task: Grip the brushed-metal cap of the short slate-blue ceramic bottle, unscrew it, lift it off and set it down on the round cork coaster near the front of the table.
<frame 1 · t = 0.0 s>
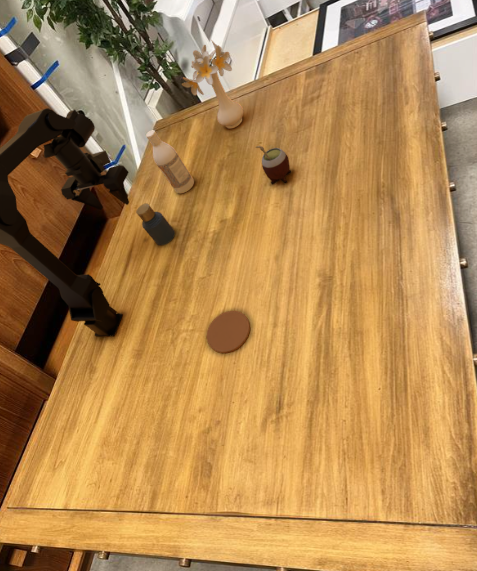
hand: (114, 206, 104), 15 cm above the table, tool pointing down, fingers open, 9 cm apart
cap: (143, 209, 104), point 11 cm above the table, screwed on, not yet turned
bath foam: (185, 186, 124), on the table
bottle: (165, 236, 113), on the table
coaster: (228, 331, 84), on the table
mate gourd: (281, 179, 107), on the table
flower vase: (234, 124, 134), on the table
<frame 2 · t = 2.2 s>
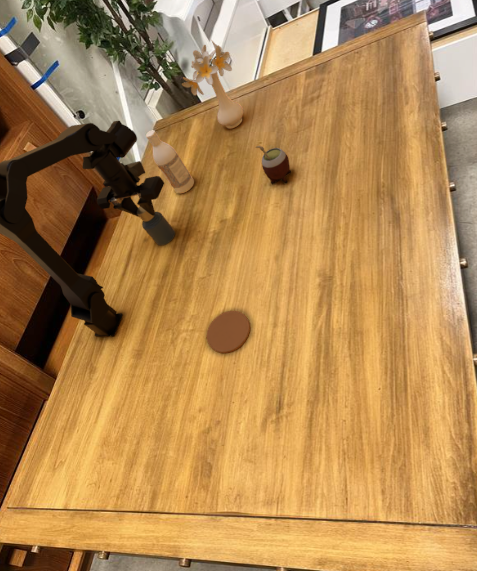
hand: (148, 215, 106), 9 cm above the table, tool pointing down, fingers closed on cap, 4 cm apart
cap: (143, 209, 104), point 11 cm above the table, screwed on, not yet turned, touching gripper
everything else where it was.
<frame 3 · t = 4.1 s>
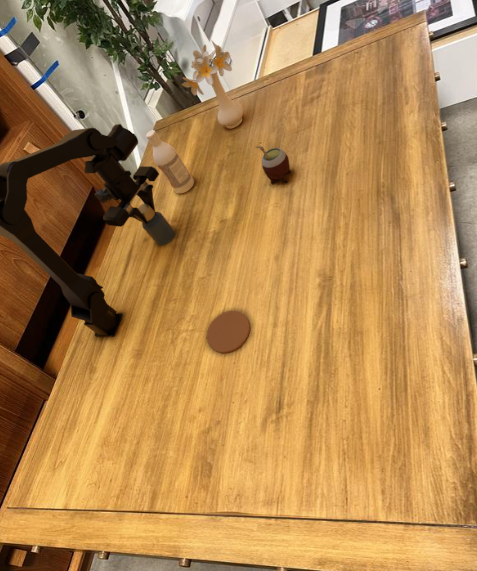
hand: (149, 217, 107), 8 cm above the table, tool pointing down, fingers closed on cap, 4 cm apart
cap: (143, 209, 104), point 11 cm above the table, turned 75° so far, risen 0.1 cm, still on its thread, touching gripper
bottle: (165, 236, 113), on the table, touching gripper
everything else where it was.
when the fingers open (3 cm above the table, at t = 28.3 s): cap drops 2 cm, resting on coaster.
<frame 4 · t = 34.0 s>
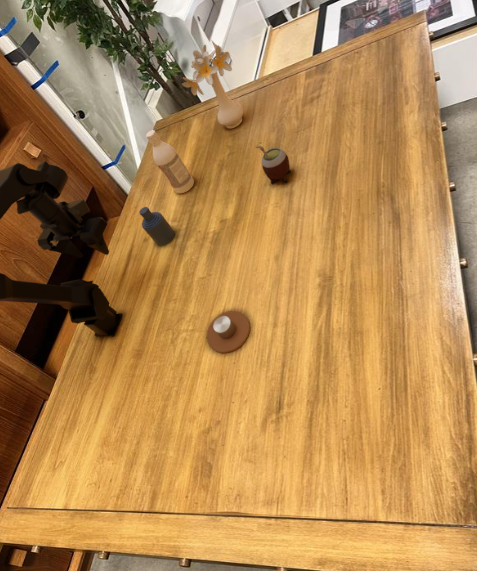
hand: (94, 255, 100), 12 cm above the table, tool pointing down, fingers open, 9 cm apart
cap: (222, 325, 82), point 3 cm above the table, off its thread, touching coaster
bottle: (165, 237, 112), on the table
everything else where it was.
at the end: cap came off its thread; cap inside the target area on the coaster (0.0 cm from its centre), point 3.1 cm above the coaster's base; the gripper is holding nothing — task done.
